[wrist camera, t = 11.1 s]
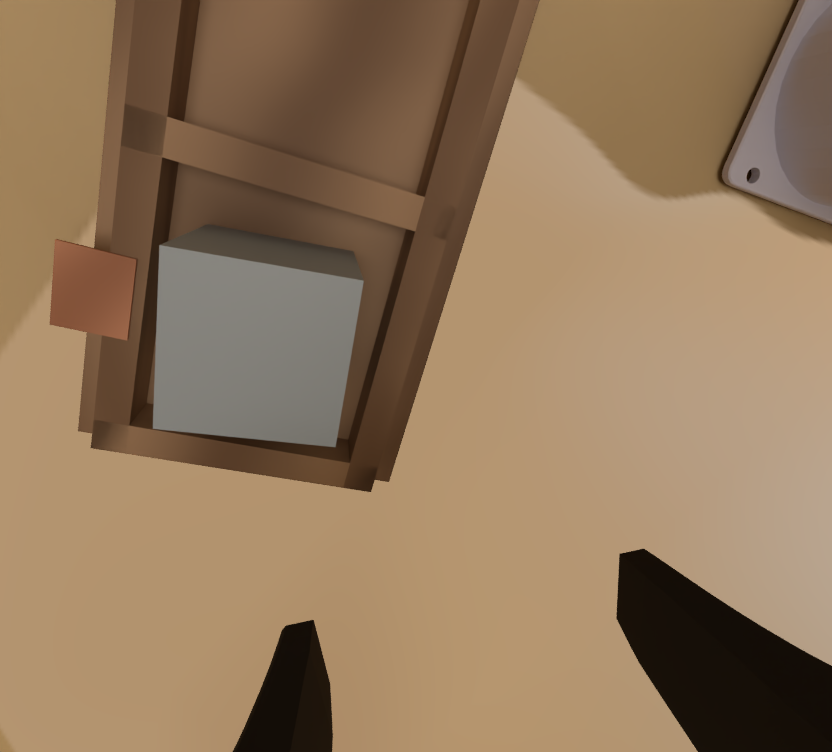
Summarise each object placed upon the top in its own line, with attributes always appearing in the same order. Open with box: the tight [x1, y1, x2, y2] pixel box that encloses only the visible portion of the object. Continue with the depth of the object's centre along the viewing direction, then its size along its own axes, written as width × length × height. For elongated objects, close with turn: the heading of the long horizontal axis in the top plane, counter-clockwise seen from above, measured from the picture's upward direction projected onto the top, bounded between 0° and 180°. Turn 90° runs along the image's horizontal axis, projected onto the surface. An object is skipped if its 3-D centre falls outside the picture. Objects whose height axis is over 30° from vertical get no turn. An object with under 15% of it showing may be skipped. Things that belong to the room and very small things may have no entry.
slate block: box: [153, 224, 364, 447], centre depth 15 cm, size 4×4×5 cm
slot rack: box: [50, 0, 539, 492], centre depth 15 cm, size 11×20×3 cm, turn 163°
